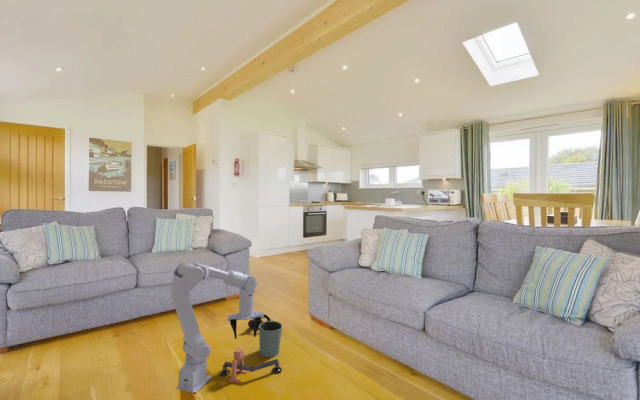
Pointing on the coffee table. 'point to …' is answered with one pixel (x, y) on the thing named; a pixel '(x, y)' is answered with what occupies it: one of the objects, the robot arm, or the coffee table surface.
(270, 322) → the green tapered cup
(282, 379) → the coffee table surface
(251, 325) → the vr controller
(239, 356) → the pink blocky toy figure
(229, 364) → the wheeled bent frame
